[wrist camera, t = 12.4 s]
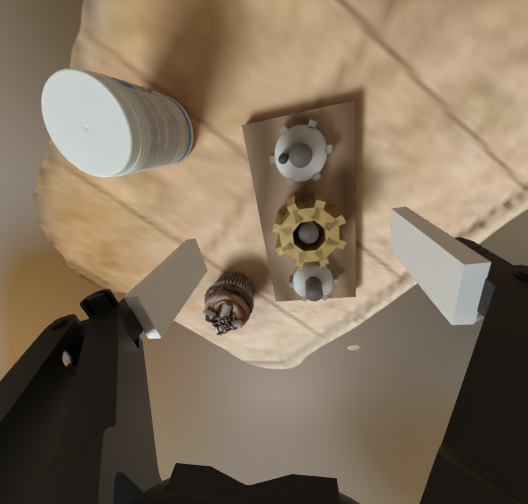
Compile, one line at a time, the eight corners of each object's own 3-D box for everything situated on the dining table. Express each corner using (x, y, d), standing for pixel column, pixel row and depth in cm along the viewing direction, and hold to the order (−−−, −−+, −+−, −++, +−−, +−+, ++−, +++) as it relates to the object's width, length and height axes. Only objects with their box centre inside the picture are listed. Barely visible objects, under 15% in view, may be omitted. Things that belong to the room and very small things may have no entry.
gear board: (352, 102, 30) (366, 92, 23) (353, 290, 43) (362, 315, 37) (245, 126, 33) (233, 122, 26) (276, 295, 46) (273, 319, 39)
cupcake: (267, 293, 46) (260, 329, 37) (233, 312, 49) (220, 350, 41) (236, 260, 43) (221, 290, 34) (203, 283, 47) (182, 316, 38)
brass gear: (337, 186, 33) (345, 195, 27) (339, 246, 37) (346, 264, 32) (272, 196, 35) (268, 206, 29) (281, 252, 39) (278, 270, 34)
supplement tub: (176, 82, 31) (92, 41, 18) (206, 152, 35) (153, 159, 22) (124, 111, 34) (16, 93, 21) (156, 173, 37) (82, 190, 24)
